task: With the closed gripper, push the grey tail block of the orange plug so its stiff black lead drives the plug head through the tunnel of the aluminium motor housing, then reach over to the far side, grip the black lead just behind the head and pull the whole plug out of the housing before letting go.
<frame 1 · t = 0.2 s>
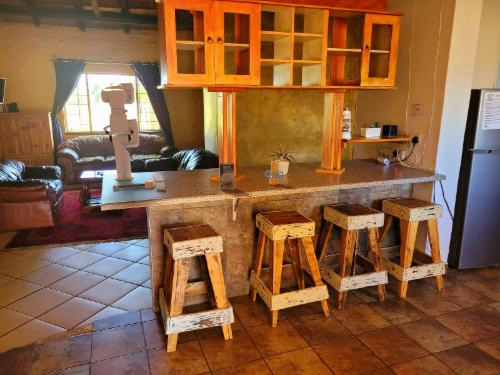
hand: (120, 142, 212), 30 cm above the countertop, tool pointing down, fingers open, 9 cm apart
motor housing: (159, 186, 236), on the countertop
coffee box: (227, 189, 229), on the countertop
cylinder: (274, 184, 242), on the countertop
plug: (149, 187, 234), on the countertop
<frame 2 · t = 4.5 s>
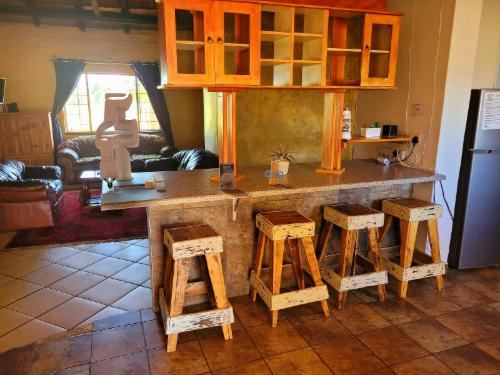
hand: (110, 188, 226), 1 cm above the countertop, tool pointing down, fingers closed
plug: (149, 187, 234), on the countertop, touching gripper
everything else where it was.
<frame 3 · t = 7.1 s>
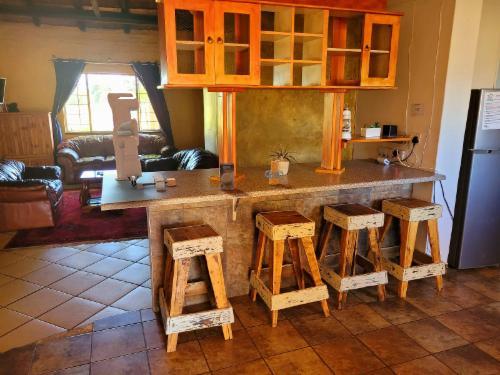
hand: (134, 186, 230), 1 cm above the countertop, tool pointing down, fingers closed
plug: (171, 185, 240), on the countertop, touching gripper
everything else where it was.
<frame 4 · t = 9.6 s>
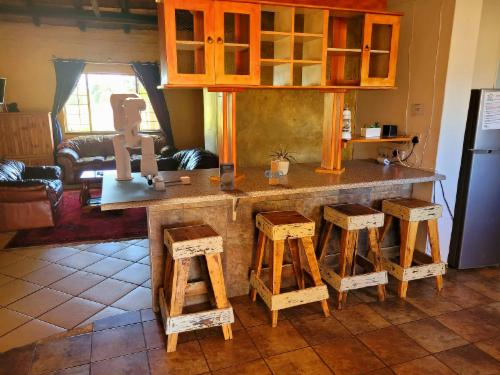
hand: (150, 185, 233), 1 cm above the countertop, tool pointing down, fingers closed
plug: (185, 183, 245), on the countertop, touching gripper
everything else where it was.
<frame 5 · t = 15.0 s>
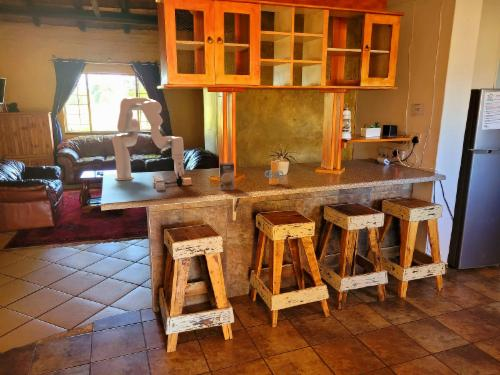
hand: (179, 184, 240), 1 cm above the countertop, tool pointing down, fingers closed on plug
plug: (187, 184, 241), on the countertop, touching gripper
everything else where it was.
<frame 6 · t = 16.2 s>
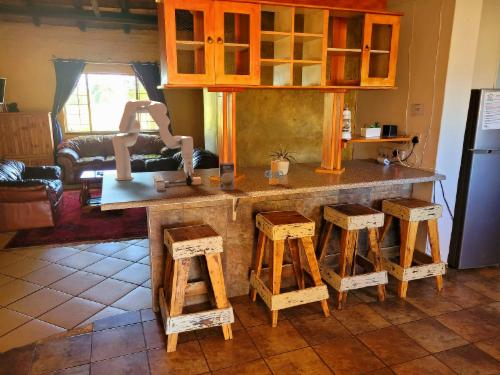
hand: (188, 183, 242), 1 cm above the countertop, tool pointing down, fingers closed on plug
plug: (196, 183, 243), on the countertop, touching gripper
everything else where it was.
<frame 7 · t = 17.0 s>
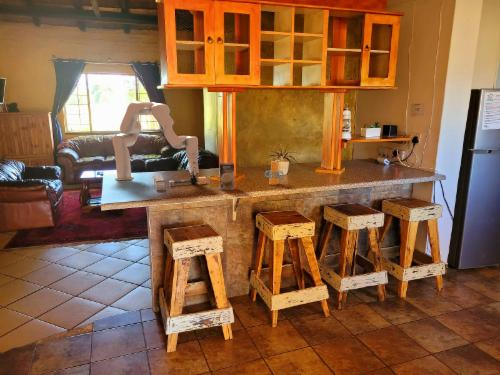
hand: (193, 183, 243), 1 cm above the countertop, tool pointing down, fingers closed
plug: (202, 183, 245), on the countertop
everything else where it was.
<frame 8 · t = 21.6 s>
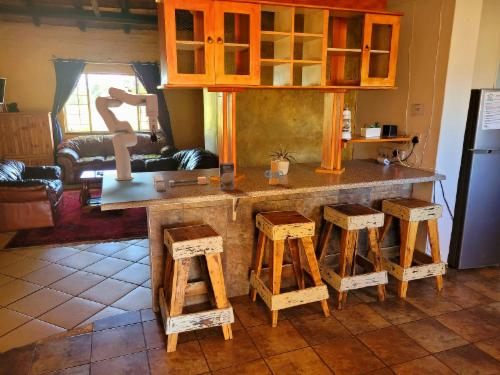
hand: (153, 141, 238), 28 cm above the countertop, tool pointing down, fingers open, 9 cm apart
nothing on the countertop moved.
at the end: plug inside the target area (0.9 cm from its centre), on the countertop; the gripper is holding nothing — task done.
